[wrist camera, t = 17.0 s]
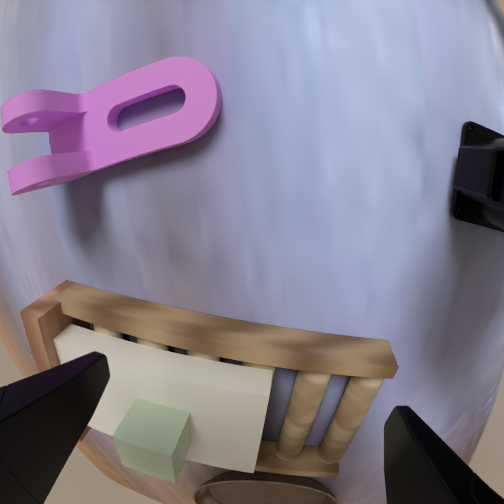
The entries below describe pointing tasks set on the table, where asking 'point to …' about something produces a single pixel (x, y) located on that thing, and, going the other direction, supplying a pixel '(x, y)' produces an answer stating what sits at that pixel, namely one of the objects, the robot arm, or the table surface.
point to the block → (154, 439)
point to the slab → (180, 394)
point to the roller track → (237, 348)
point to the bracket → (109, 122)
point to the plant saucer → (262, 489)
